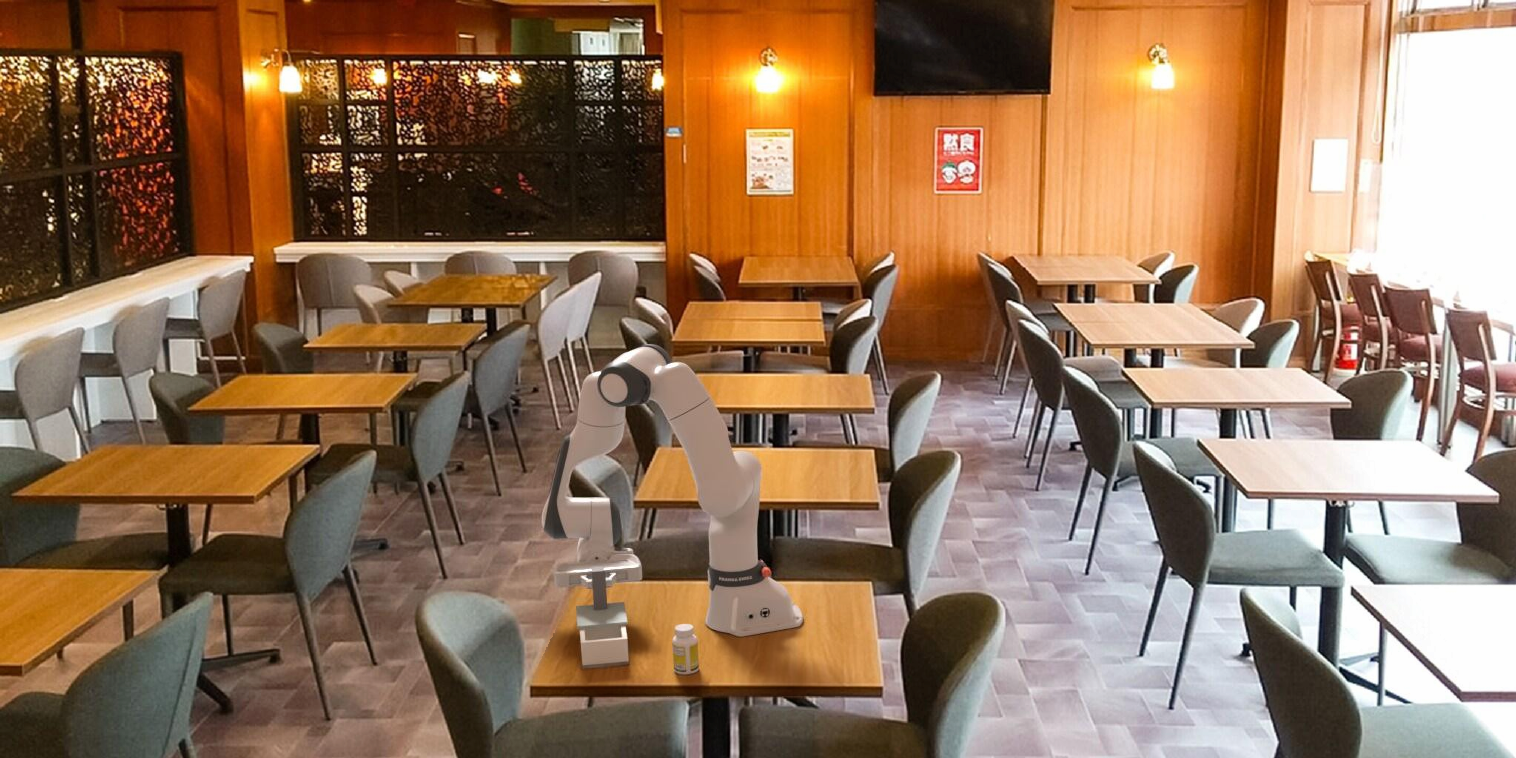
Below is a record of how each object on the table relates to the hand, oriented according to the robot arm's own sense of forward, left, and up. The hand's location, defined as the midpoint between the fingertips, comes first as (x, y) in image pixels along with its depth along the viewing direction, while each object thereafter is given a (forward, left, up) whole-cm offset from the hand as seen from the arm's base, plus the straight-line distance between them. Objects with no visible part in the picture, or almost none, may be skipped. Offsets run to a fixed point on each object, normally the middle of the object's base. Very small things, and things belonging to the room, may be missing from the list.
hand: (599, 584), depth 324 cm
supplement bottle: (-17, +22, -13) cm, 31 cm away
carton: (0, +11, -13) cm, 17 cm away
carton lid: (0, +3, -6) cm, 7 cm away
